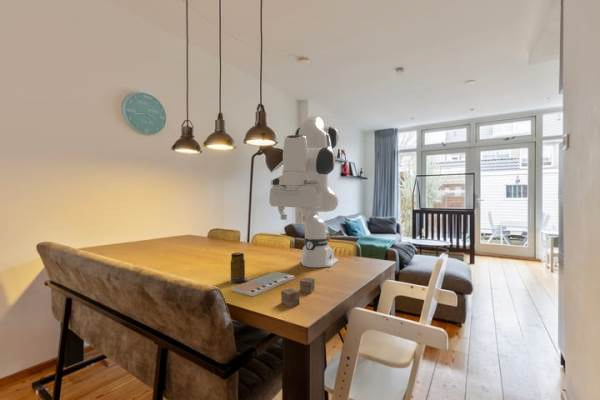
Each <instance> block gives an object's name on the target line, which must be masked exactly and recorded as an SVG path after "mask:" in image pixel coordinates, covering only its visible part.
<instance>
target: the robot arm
mask: <svg viewBox="0 0 600 400" xmlns="http://www.w3.org/2000/svg"><path fill="white" fill-rule="evenodd" d="M339 137H340V136H339V132H338V129H337V128H336V127H334V126H325V123H324V121H323V119H322V118H321V117H320V116H317V115H311V116H309V117H307V118H306V119H305V120H304V121H303V122H302V124H301V125H300V126H299V128H297V129H296V130H295V134H294V135H293V134H292V135H287V136H285V138H284V142H283V150H282V161H283V169H282V175H279V176H277V177H275V178H273V179H271V180H270V185H271V187H270V190H269V204H270V206H271V207H277V210H278V212H279V214H280V220H282V221H283V220H284V221H286V220H287V219H288V218H287V217H288V215H287V214H286V213H285V208H296V209H297V210H298V211H299V212H300V214H301V216H302V217H301V218H302V221H303V223H304V238H303V244H304V245H303V247H302V252H301V253H302V254H301V259H300V260H299V261H300V262H299V263H300V264H301V265H302V266H303V267H308V268H332V267H333V266H335V264H337V263H338V262H339V258H338V257H337V258H336V257H335V252H334V249H333V248H332V247H330V245H329V243H328V242H330V240H331V239H330V237H327V224H326V222H325V221H324V219H322V218H321V217H320V214H319V213H328V212H333V211H335V210H336V208H337V207H338V204H339V199H338V196H337V194H336V193H335V192H334V190H332V189H331V187H330V184H329V181H328V175H329V174H331V172H333V170H334V169H335V165H336V156H335V153H334V152H333V149H334V148H335V147H336V146H337V144H338V143H339V139H340V138H339Z"/></svg>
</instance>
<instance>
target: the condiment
mask: <svg viewBox="0 0 600 400" xmlns="http://www.w3.org/2000/svg"><path fill="white" fill-rule="evenodd" d="M245 260H246V259H245V255H244V252H234V253H231V259H230V279H229V281H227V284H240V285H241V284H243V283H246V282H249V281H252V278H247V277H246V270H245V269H246V261H245Z"/></svg>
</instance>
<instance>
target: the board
mask: <svg viewBox="0 0 600 400" xmlns="http://www.w3.org/2000/svg"><path fill="white" fill-rule="evenodd" d="M294 279H295V275H293V274H288V273H286V272H285V273H284V272H279V271H274V272H271V273H268V274H266V275H265V274H264V275H263V276H259V277H257V278H255V279H251V280H250V281H249V282H246V283H243V284H241V283H240V284H239V285H236V286H233V287H232V288H231V289H232V290H231V291H232V292H235V293H239V294H242V295H247V296H250V297H256V296H257V295H259V294H263V292H266V291H268V290H271V289H273V288H275V287H278V286H280V285H282V284H284V283H287V282H288V281H292V280H294Z"/></svg>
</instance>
